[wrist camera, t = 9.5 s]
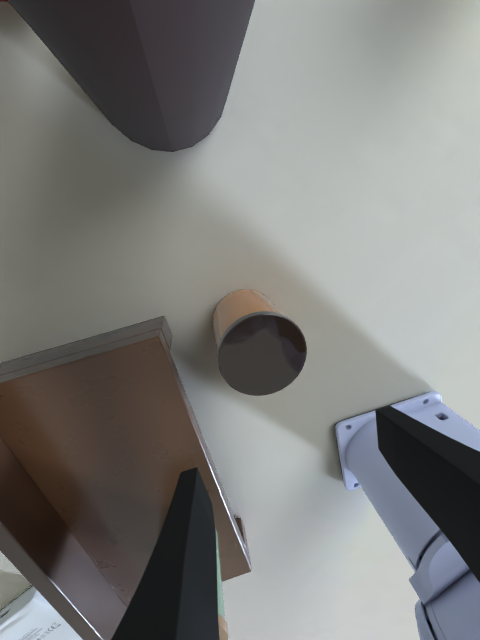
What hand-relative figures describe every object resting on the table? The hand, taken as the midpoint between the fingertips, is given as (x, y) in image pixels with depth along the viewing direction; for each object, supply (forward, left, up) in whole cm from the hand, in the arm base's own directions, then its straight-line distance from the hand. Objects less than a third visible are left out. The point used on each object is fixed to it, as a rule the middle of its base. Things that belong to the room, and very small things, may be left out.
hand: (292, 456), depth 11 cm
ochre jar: (0, -2, -10) cm, 10 cm away
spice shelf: (+10, +7, -10) cm, 16 cm away
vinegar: (+1, -16, -10) cm, 19 cm away
